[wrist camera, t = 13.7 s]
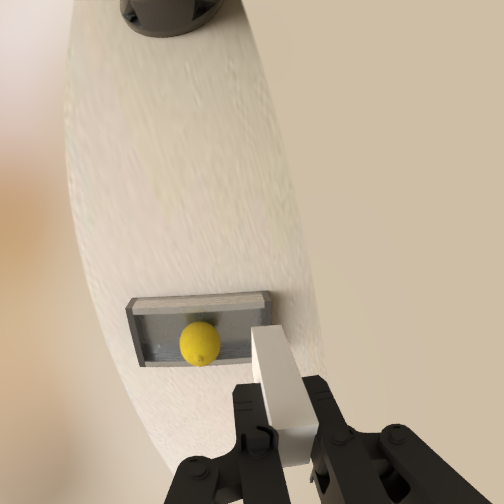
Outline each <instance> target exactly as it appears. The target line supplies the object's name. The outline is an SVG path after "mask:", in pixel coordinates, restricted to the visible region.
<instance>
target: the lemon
mask: <svg viewBox="0 0 504 504" xmlns="http://www.w3.org/2000/svg"><path fill="white" fill-rule="evenodd" d="M220 346H221V344H220V337H219V334H218V332H217V330H216V329H215V328H214V327H213V326H212V325H211V324H209V323H206V322H202V321H198V322H193V323H191V324H189V325H188V326H187V327H186V328H185V329H184V330H183V332H182V334H181V337H180V351H181V354H182V356H183V357H184V359H185V360H186V361H187V362H188V363H190V364H191V365H194V366H199V367H201V366H206V365H209V364H211V363H212V362H213V361H214V360H215V359H216V357H217V356H218V354H219V351H220Z"/></svg>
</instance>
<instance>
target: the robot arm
mask: <svg viewBox="0 0 504 504" xmlns="http://www.w3.org/2000/svg"><path fill="white" fill-rule="evenodd" d="M222 1H223V0H120V10H121V14H122V16H123V18H124V20H125V21H126V23H127V24H128V26H129V27H130V28H131V29H133V30H134V31H135V32H137V33H139V34H142V35H145V36H150V37H171V36H177V35H181V34H184V33H187V32H190V31H192V30H194V29H196V28H198V27H200V26H202V25H203V24H205V23H206V22H208V21H209V20H210V19H211V18H212V17H213V16H214V15H215V14H216V13H217V11H218V10H219V8H220V6H221V4H222ZM251 337H252V371H253V376H254V382H255V383H251V384H237V385H236V387H235V389H234V391H233V393H232V395H233V407H234V418H235V429H236V444H235V446H234V448H233V449H232V450H231V451H230V452H229V453H227V454H225V455H223V456H220V457H217V458H214V459H210V458H207V457H204V456H192V457H188V458H186V459H185V460H183V461H182V462H181V463H180V465H179V466H178V468H177V471H176V473H175V476H174V478H173V481H172V484H171V486H170V489H169V491H168V494H167V497H166V499H165V502H164V504H228V503H231V502H234V501H237V500H240V499H243V503H244V504H291V502H290V498H289V494H288V489H287V485H286V481H285V477H284V472H283V468H284V467H291V466H297V465H303V464H308V463H309V462H310V458H311V459H312V462H313V465H314V467H313V470H312V473H311V477H310V483H312V482H313V480H314V481H315V484H316V488H317V491H318V494H319V497H320V500H321V504H492V503H491V502H490V501H488V500H487V499H486V498H485V497H484V496H483V495H482V494H480V493H479V492H478V491H477V490H476V489H475V488H474V487H473V486H472V485H471V484H469V483H468V482H467V481H466V480H465V479H464V478H463V477H462V476H461V475H459V474H458V473H457V472H456V471H455V470H454V469H453V468H452V467H451V466H450V465H448V464H447V463H446V462H445V461H444V460H443V459H442V458H441V457H440V456H439V455H438V454H436V453H435V452H434V451H433V450H432V449H431V448H430V447H429V446H428V445H427V444H426V443H425V442H424V441H422V440H421V439H420V438H419V437H418V436H417V435H416V434H415V433H414V432H413V431H412V430H411V429H410V428H408V427H406V426H405V425H401V424H391V425H388V426H386V427H385V428H384V429H383V430H382V432H381V433H362V432H358V431H356V430H355V429H354V428H352V427H351V426H349V425H347V424H346V422H345V420H344V418H343V416H342V414H341V411H340V409H339V407H338V405H337V403H336V401H335V399H334V397H333V395H332V392H331V391H330V388H329V386H328V384H327V382H326V381H325V380H324V379H323V378H321V377H320V376H319V375H315V376H308V377H301V375H300V372H299V370H298V367H297V365H296V362H295V359H294V357H293V354H292V352H291V349H290V346H289V344H288V341H287V338H286V336H285V333H284V331H283V328H282V325H271V326H258V327H251Z"/></svg>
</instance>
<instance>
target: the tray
mask: <svg viewBox="0 0 504 504" xmlns="http://www.w3.org/2000/svg"><path fill="white" fill-rule="evenodd" d="M125 309H126V314H127V318H128V323H129V327H130V331H131V335H132V339H133V343H134V347H135V351H136V354H137V358H138V362H139V365H140V367H188V366H194V365H191V364H190V363H188V362H187V361H186V360H185V359H184V357H183V356H182V354H181V351H180V337H181V334H182V332H183V330H184V329H185V328H186V327H187V326H188V325H189V324H191V323H193V322H198V321H202V322H206V323H209V324H211V325H212V326H213V327H214V328H215V329H216V330H217V332H218V334H219V337H220V344H221V346H220V351H219V354H218V356H217V357H216V359H215V360H214V361H213V362H212V363H211V364H209V365H206V366H212V365H229V364H242V363H252V337H251V327H258V326H271V325H272V300H271V297H270V295H269V293H268V291H256V292H242V293H227V294H211V295H194V296H174V297H151V298H132V299H131V300H130V302H129V303H128V305H127V307H126V308H125Z"/></svg>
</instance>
